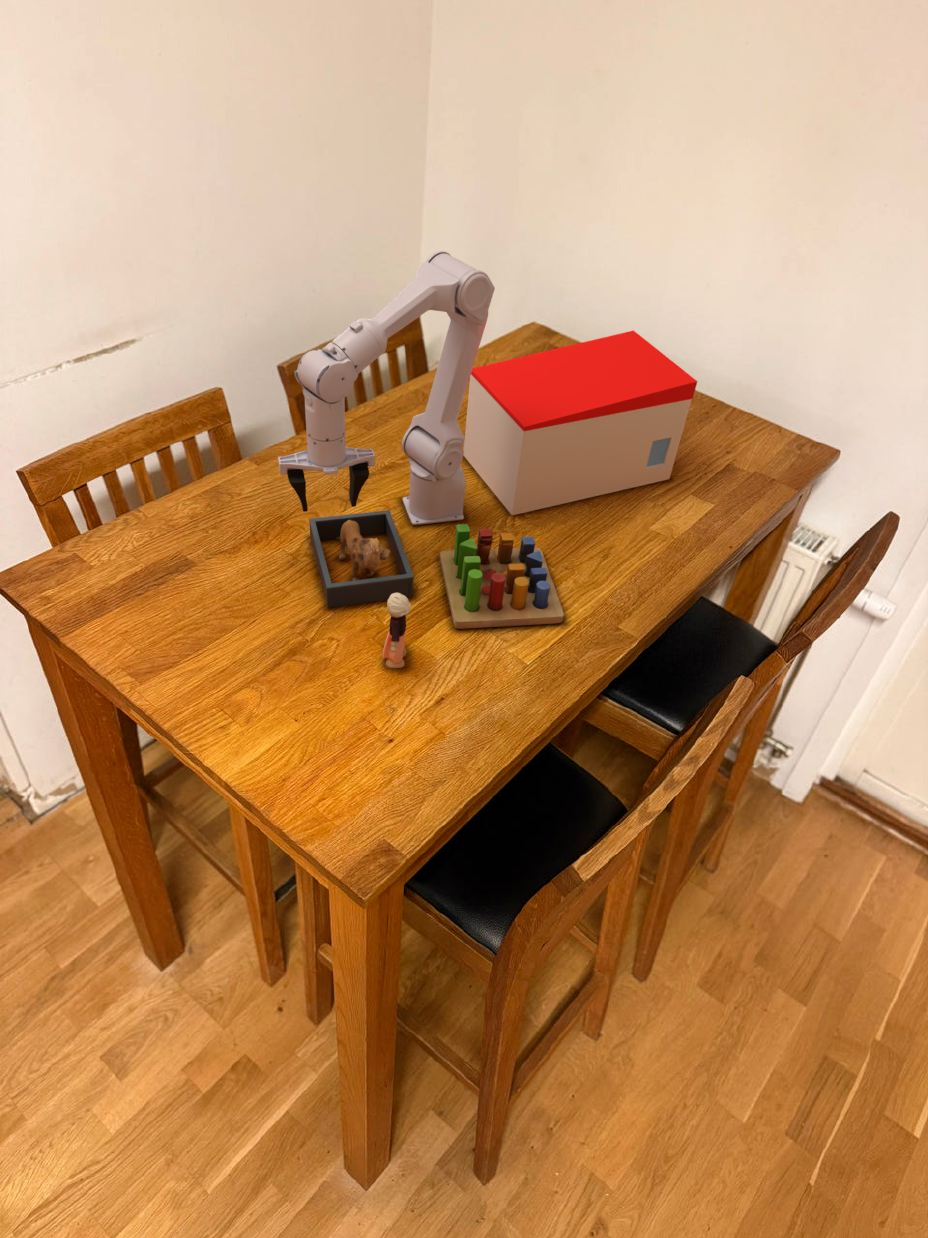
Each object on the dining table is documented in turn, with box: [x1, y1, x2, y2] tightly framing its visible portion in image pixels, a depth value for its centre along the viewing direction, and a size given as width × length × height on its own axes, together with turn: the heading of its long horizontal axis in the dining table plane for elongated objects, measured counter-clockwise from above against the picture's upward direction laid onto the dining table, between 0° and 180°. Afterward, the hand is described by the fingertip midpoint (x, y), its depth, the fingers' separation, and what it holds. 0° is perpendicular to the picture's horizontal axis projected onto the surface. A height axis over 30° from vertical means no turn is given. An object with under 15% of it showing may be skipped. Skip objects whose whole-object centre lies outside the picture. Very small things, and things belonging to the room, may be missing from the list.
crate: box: [308, 509, 415, 609], centre depth 144 cm, size 14×18×4 cm
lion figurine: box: [336, 520, 391, 581], centre depth 143 cm, size 15×5×9 cm, turn 34°
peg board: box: [439, 523, 565, 630], centre depth 141 cm, size 18×17×9 cm
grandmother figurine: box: [382, 593, 412, 669], centre depth 127 cm, size 8×4×13 cm, turn 5°
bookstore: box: [463, 330, 698, 516], centre depth 165 cm, size 21×35×21 cm, turn 116°
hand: (328, 505), depth 141 cm, fingers open, 7 cm apart
